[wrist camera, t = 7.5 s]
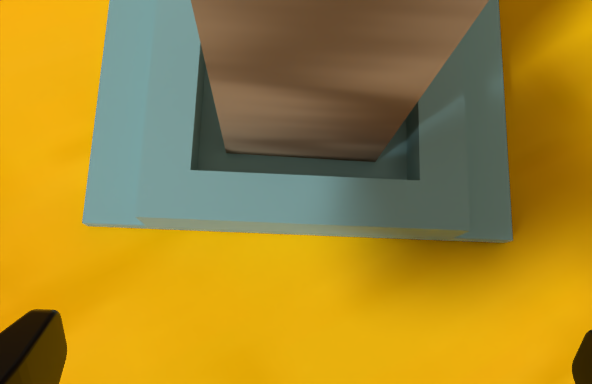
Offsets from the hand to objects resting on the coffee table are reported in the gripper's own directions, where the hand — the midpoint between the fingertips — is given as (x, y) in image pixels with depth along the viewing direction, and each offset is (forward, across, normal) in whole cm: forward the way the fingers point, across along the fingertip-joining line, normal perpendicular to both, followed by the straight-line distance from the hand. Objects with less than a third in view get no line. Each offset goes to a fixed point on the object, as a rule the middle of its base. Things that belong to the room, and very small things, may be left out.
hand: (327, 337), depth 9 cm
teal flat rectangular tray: (+12, 0, 0) cm, 12 cm away
